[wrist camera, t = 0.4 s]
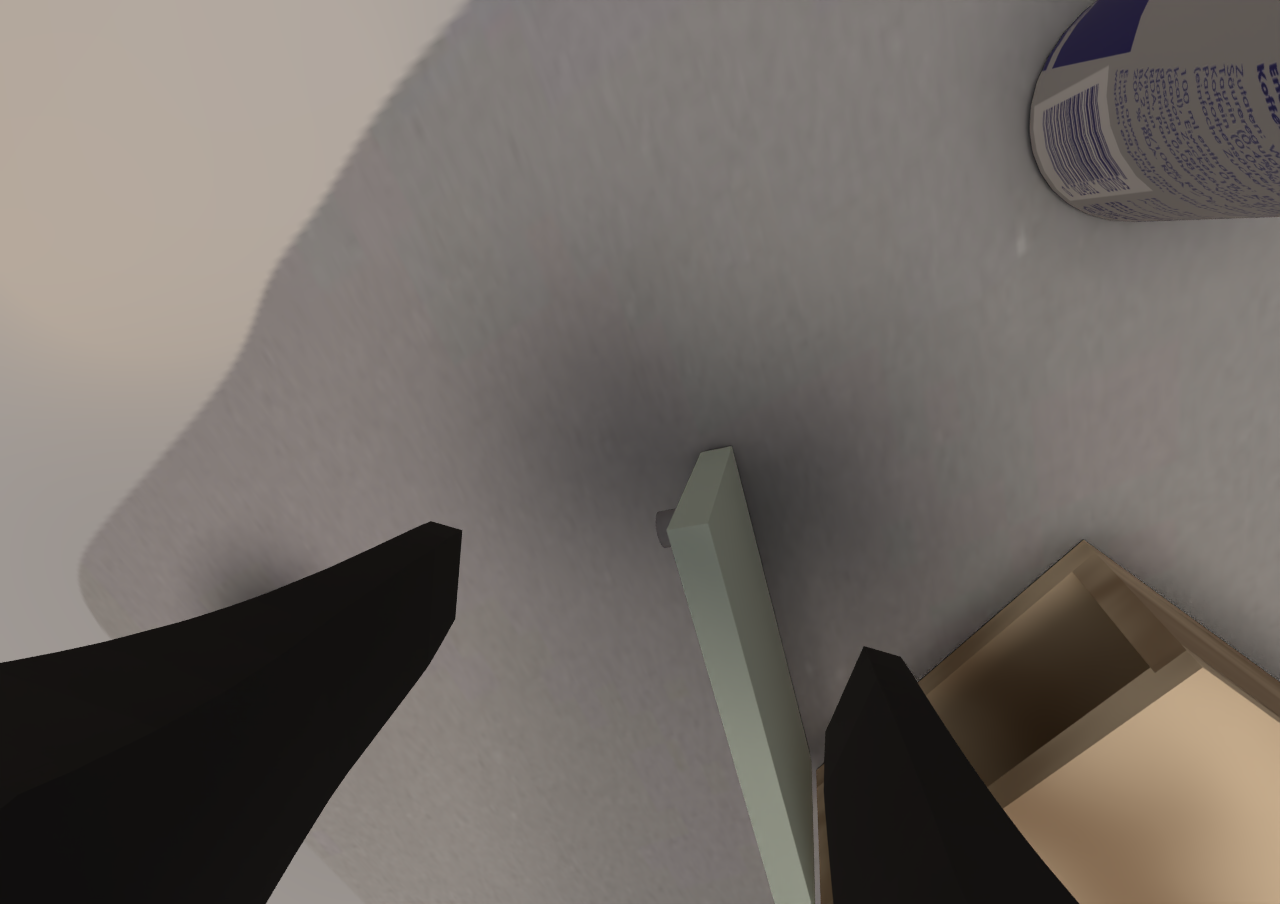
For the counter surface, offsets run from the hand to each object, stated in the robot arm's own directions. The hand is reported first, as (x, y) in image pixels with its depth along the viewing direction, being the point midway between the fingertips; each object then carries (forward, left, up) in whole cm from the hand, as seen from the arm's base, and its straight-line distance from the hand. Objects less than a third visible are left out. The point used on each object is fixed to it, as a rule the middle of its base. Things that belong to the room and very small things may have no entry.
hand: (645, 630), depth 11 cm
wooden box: (-2, -14, -10) cm, 17 cm away
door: (-4, -4, -10) cm, 11 cm away
